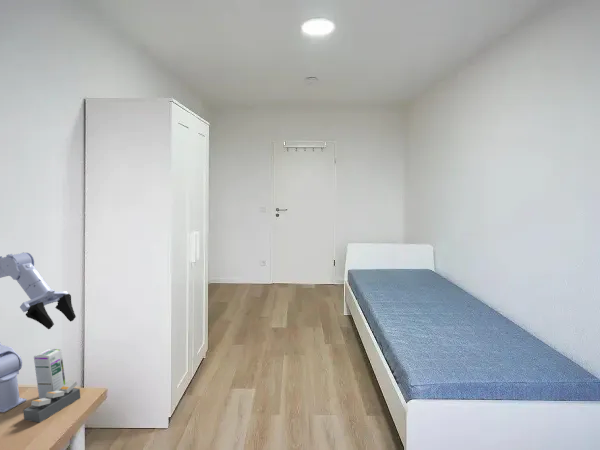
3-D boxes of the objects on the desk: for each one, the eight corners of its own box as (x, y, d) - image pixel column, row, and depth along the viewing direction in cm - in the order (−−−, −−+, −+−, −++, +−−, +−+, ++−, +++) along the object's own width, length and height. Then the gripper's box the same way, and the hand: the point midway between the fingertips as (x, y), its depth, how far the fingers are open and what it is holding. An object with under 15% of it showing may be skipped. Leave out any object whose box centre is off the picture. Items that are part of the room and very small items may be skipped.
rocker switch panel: (24, 419, 131) (22, 407, 131) (65, 395, 145) (64, 384, 145) (39, 422, 129) (38, 410, 129) (80, 397, 143) (79, 386, 143)
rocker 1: (31, 405, 130) (31, 400, 130) (43, 402, 134) (43, 397, 134) (38, 406, 129) (39, 401, 129) (50, 403, 133) (50, 398, 133)
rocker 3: (60, 392, 140) (59, 388, 139) (70, 383, 143) (69, 380, 143) (67, 393, 139) (66, 389, 138) (77, 384, 142) (76, 381, 142)
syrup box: (54, 399, 143) (49, 355, 141) (38, 398, 144) (33, 355, 143) (66, 391, 148) (62, 348, 147) (51, 390, 150) (46, 348, 148)
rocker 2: (45, 397, 135) (46, 392, 135) (56, 394, 138) (57, 389, 139) (53, 398, 134) (53, 393, 134) (64, 395, 138) (64, 390, 138)
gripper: (19, 283, 122) (47, 321, 120) (63, 273, 136) (89, 307, 134) (6, 299, 124) (34, 337, 122) (51, 288, 138) (77, 322, 136)
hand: (62, 322), depth 128 cm, fingers open, 7 cm apart
